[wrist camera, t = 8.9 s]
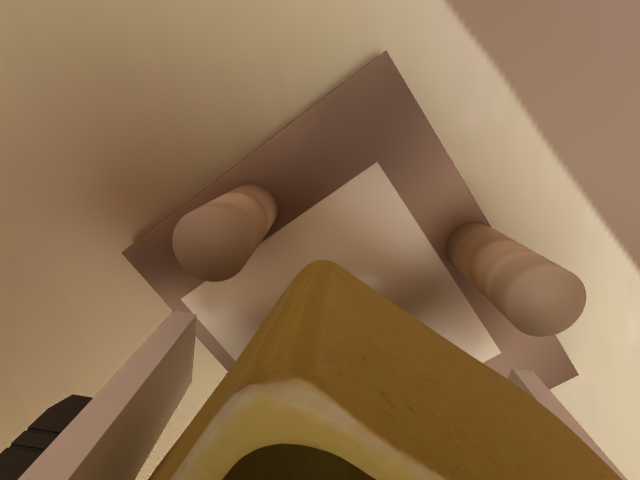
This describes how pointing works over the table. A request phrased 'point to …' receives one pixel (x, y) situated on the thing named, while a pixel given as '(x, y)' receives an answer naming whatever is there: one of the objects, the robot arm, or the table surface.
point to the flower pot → (368, 402)
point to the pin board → (361, 235)
